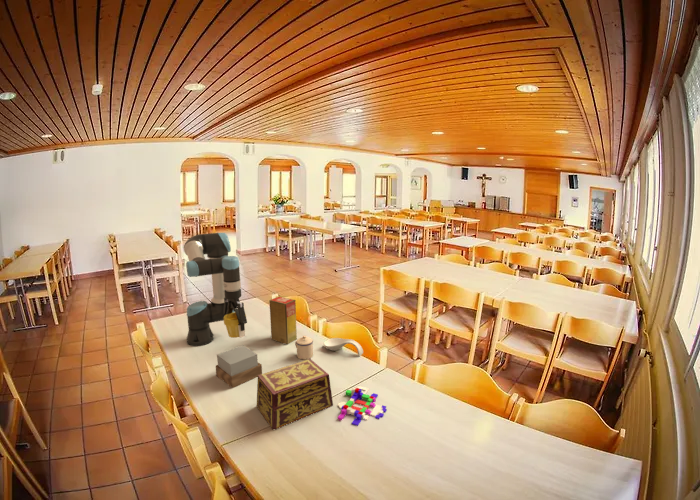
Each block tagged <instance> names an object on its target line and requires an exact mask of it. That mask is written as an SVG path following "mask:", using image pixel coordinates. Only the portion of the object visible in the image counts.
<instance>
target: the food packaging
mask: <svg viewBox="0 0 700 500" xmlns="http://www.w3.org/2000/svg"><path fill="white" fill-rule="evenodd" d="M296 304H297V303H296V299H292V298H288V297H283V296H281V295H279V296H276V297H274V298H271V299H270V300H269V314H270V315H269V316H270V317H269V319H270V337H271V341H274V342H278V343H281V344H283V345H289V344H291V343H292V342H294V341H297V340H298V338H297V337H298V336H297V333H298V332H297V308H296V307H297V305H296Z"/></svg>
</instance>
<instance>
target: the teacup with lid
mask: <svg viewBox="0 0 700 500" xmlns="http://www.w3.org/2000/svg"><path fill="white" fill-rule="evenodd" d="M294 344H295V347H296V356H297V359H300V360H302V361H304V360H308V359H311V358H313V356H314V346H313V345H314V339H313V338H311V337H309V336H307V335H302V337H299V338H297V339H296V340H295V342H294Z"/></svg>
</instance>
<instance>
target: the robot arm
mask: <svg viewBox="0 0 700 500" xmlns="http://www.w3.org/2000/svg"><path fill="white" fill-rule="evenodd" d="M231 251H232V249H231V244H230V238H229V236H228V234H227V233H226V232H211V233H202V234H201V233H198V234H196V235H193V236H191V237H190V238H188V239H187V241H185V242H184V245H183V253H184V254H185V255H186V256H187V258H188V261H186V263H185V267H186V274H187V277H189V278H192V277H193V278H194V277H203V276H209V275H210V276H211V284H212V295H213V297H212V298H211V300H210V302H208V301H206V300H201V301H196V302H193V303H191V304H189V305H188V306H187V307H186V318H187V326H188V328H187V329H188V331H187V336H186V344H187V346H190V347H201V346H205V345H207V344H211V343H212V342H213V341H214V339H215V338H214V336H215V335H214V333H213V331H212V329H211V326H210V324H211V323H215V322H217V323H218V322H222V321H223V322H224V316H225V315H226V314H230V313H233V312H235V313H236V316H237V319H238V322H239V324H238V328H239V337H238V338H243V337H246V329H245V325H246V324H248V319H247V314H246V311H245V307H244V302H241V301H240V298H241V297H242V289H241V288H242V285H241V275H240V274H241V273H240V272H241V271H240V260H239V257H238V256H236V255H229V253H230V252H231ZM205 255H207V256H206V257H207V259H206V257H205ZM245 314H246V315H245ZM244 324H245V325H244Z"/></svg>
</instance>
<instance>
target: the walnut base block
mask: <svg viewBox="0 0 700 500" xmlns="http://www.w3.org/2000/svg"><path fill="white" fill-rule="evenodd" d="M262 367H263V365H262V364H261V363H259V362H258V366H255V367H253V368H251V369H248V370H246V371H244V372H241V373H239V374H236V375H234V376H230V375H229V374H228V373H226V372H225V371H224V370H223V369H221V368H220V367H219V366H218V364H215V373H216V375H215V376H216V377H218V379H220V380H222V381H223V382H224V383H225V384H227V385H228V386H229V387H230V388H232V389H234V388H237V387H238V386H239V387H240V385H243V384H246V383H247V382H250V381H252V380H253V379H254V380H255V379H256V378H258V375H261V374H263V368H262Z"/></svg>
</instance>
